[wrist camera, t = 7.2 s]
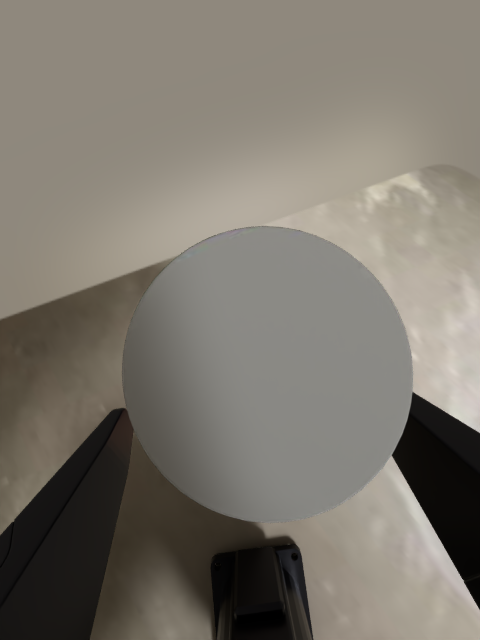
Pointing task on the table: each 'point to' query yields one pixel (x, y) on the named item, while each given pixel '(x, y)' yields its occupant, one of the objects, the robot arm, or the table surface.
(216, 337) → the container
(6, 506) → the table surface
